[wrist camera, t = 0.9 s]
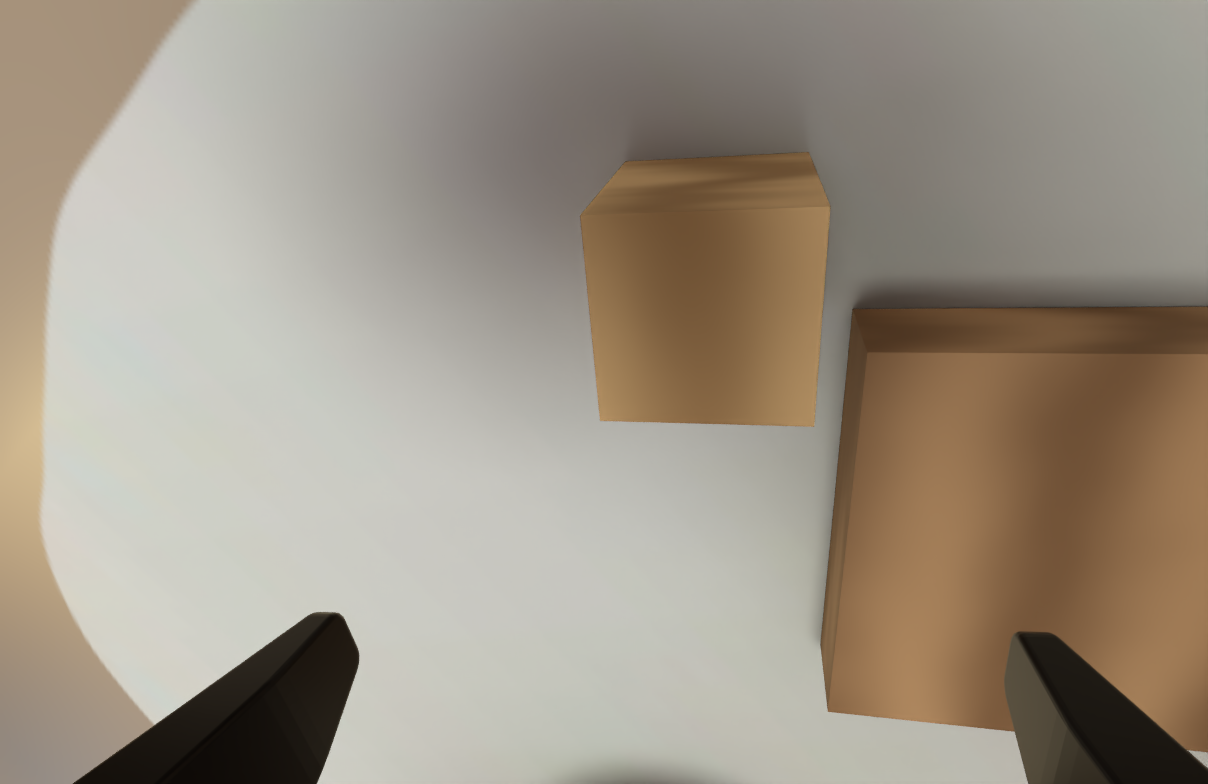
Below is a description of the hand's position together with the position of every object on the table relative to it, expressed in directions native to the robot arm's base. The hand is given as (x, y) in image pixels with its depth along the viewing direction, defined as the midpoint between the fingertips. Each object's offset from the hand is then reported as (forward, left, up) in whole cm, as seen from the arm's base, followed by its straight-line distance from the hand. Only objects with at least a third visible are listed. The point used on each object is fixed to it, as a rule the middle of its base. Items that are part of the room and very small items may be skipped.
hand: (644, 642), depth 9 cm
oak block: (0, -1, -14) cm, 14 cm away
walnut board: (-10, +8, -13) cm, 19 cm away
